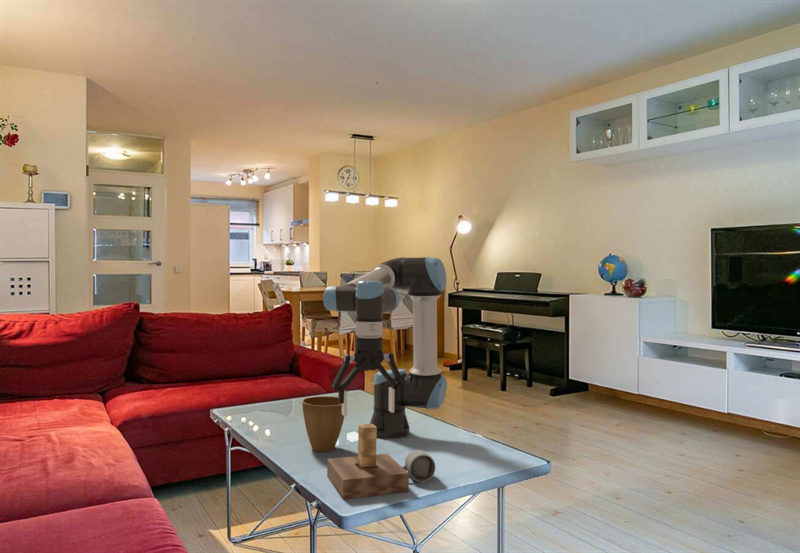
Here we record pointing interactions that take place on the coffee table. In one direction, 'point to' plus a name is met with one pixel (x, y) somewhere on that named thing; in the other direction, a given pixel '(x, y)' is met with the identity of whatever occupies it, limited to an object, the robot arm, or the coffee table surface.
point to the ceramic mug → (419, 466)
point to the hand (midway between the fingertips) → (368, 413)
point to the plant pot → (323, 421)
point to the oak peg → (367, 446)
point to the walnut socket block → (367, 477)
